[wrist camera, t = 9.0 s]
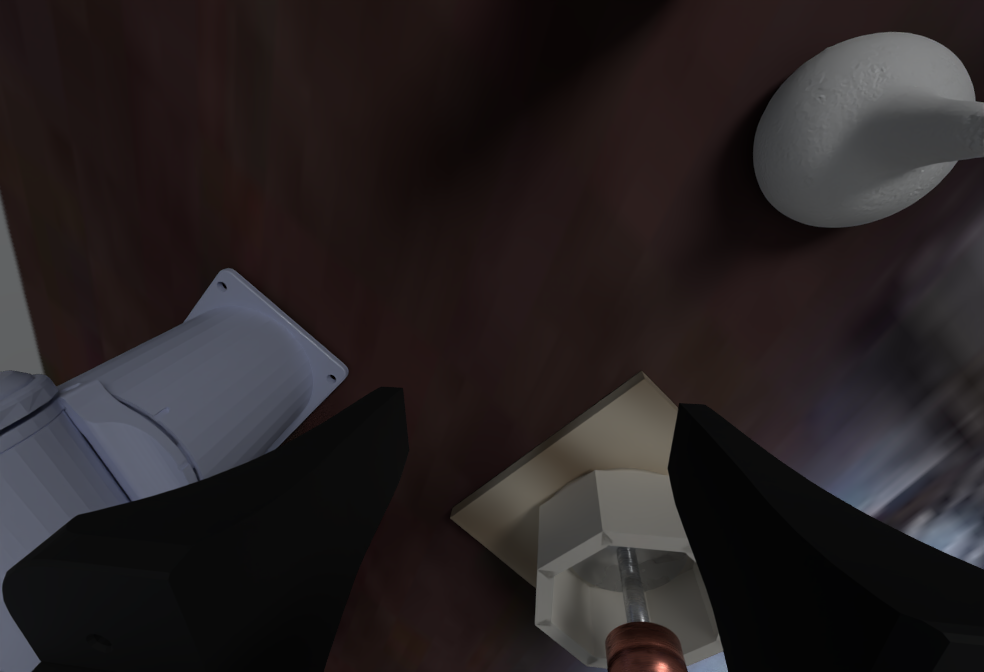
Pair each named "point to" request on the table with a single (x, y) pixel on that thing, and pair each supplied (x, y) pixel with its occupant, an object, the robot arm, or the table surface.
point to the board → (569, 469)
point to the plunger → (637, 606)
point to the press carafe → (627, 523)
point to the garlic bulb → (866, 130)
